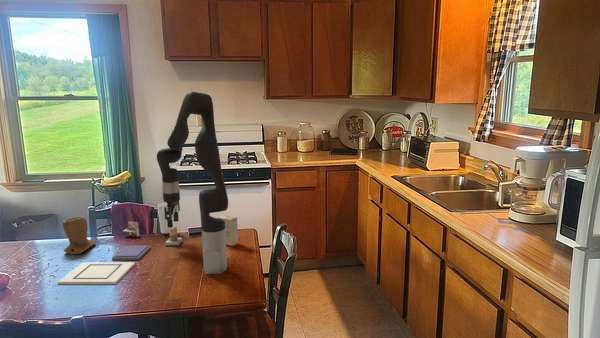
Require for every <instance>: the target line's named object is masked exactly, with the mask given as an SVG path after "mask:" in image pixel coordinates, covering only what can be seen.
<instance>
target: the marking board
mask: <svg viewBox="0 0 600 338" xmlns="http://www.w3.org/2000/svg"><path fill="white" fill-rule="evenodd" d="M135 265H136V262H135V261H134V262H133V261H128V262H127V261H125V262H124V261H123V262H122V261H118V262H117V261H113V262H112V261H109V262H106V261H105V262H100V261H97V262H96V261H94V262H90V261H89V262H87V261H86V262H81V263H80V264H79V265H77V266H76V267H74V268H73V269H72V270H71V271H70V272H69V273H67V274H66V275H64V276H63V277H62V278H60V280H59V279H58V281H57V285H116V284H117V283H119V281H121V280H122V279H123V277H125V275H126V274H128V273H129V271H131V270H132V269H133V267H134V266H135Z"/></svg>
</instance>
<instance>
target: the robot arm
mask: <svg viewBox="0 0 600 338" xmlns="http://www.w3.org/2000/svg"><path fill="white" fill-rule="evenodd" d="M190 115H198V116H200V117H201V128H200V131H199V133H198V134H197V136H196V138H195V140H194V141H195V142H194V150H195V157H196V161H197V163H198V165H200V166H201V168H202V169H203V170H204V171H205V172H206V174H208V176H210V178H211V180H212V181H213V183H214V187H215V188H209V189H202V190H200V191H199V195H198V203H199V204H198V205H199V212H200V225H201V228H200V229H201V243H202V245H201V246H202V259H203V260H202V262H203V263H202V264H203V272H204V274H205V275H221V274H222V273H224V272H226V271H227V269H228V263H227V261H228V259H227V257H228V256H227V245H226V234H225V222H224V221H223V220H222V219H218V217H213V216H211V215H210V214H213V213H220V212H225V211H227V210H228V208H229V197H228V192H227V188H226V185H225V180H224V176H223V170H222V164H221V157H220V156H221V155H220V151H219V149H220V148H219V145H218V140H217V134H216V133H217V132H216V127H215V126H216V125H215V113H214V103H213V99H212V97H211V95H209V94H207V93H204V92H198V91H187V92H186V94H185V96H184V98H183V99H182V103H181V106H180V108H179V112H178V114H177V118H176V122H175V125H174V128H173V130H172V132H171V134H170V136H169V138H168V139H167V142H166V143H167V146H168V147H167V148H161V149H159V150H158V151H157V152H156V161H157V163H158V166H159V169H160V172H161V179H162V186H161V189H162V200H163V203H167V207H164V210H165V220H167V224H168V227H169V228H172V227H174V224H173V222H175V223H176V222H179V219H180V218H179V213H180V212H181V208H180V200H181V193H180V192H181V191H180V183H179V171H178V169H177V168H176V167H175V168H174V167H171V166H170V164H174V163H178V161H180V160H181V158H182V154H183V147H184V145H185V143H186V142H187V140H188V139H189V136H190V135H189V134H190V132H189V131H190V129H189V125H188V119H189V117H190Z"/></svg>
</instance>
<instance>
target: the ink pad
mask: <svg viewBox="0 0 600 338" xmlns="http://www.w3.org/2000/svg"><path fill="white" fill-rule="evenodd" d="M151 248H152V245H125V246H123V248H121V249H120V250H119V251H118V252H116V254H114V255H113V256H112V257H111V260H112V261H140V260H141V259H142V258H143V257H144V255H146V254H147V253H148V251H150V250H151Z"/></svg>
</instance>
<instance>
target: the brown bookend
mask: <svg viewBox="0 0 600 338" xmlns="http://www.w3.org/2000/svg"><path fill="white" fill-rule="evenodd" d="M62 228H63V231H64V233H65V234H66V237H67V240H68V241H69V245H68V246H66V248H64V249H63V252H65V253H67V254H70V255H79V254H81V253H83V252H84V251H86V250H88V249H89V248H91V247H92V246H93V245H94V244H96V240H95V239H92V240H91V239H88V229H89V228H88V222H87V218H86V217H85V216H83V215H82V216H75V217H71V218H67V219H64V220H62Z"/></svg>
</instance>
